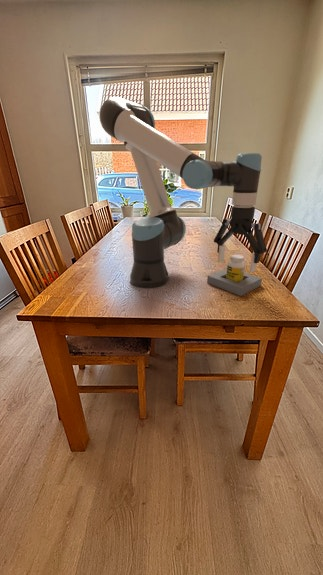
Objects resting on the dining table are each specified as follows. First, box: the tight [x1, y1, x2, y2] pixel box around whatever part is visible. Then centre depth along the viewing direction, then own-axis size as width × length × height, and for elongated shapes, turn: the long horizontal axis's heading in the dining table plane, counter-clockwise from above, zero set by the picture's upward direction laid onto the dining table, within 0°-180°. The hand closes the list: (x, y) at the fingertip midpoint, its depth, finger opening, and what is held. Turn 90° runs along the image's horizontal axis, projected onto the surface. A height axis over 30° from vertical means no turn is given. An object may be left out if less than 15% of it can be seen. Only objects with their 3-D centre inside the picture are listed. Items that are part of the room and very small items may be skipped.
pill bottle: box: [226, 254, 246, 283], centre depth 92 cm, size 6×6×11 cm
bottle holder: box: [206, 267, 263, 297], centre depth 94 cm, size 13×15×3 cm
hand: (235, 266), depth 91 cm, fingers open, 13 cm apart
